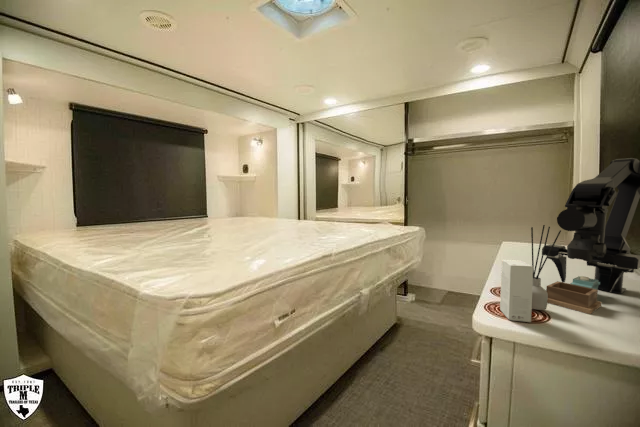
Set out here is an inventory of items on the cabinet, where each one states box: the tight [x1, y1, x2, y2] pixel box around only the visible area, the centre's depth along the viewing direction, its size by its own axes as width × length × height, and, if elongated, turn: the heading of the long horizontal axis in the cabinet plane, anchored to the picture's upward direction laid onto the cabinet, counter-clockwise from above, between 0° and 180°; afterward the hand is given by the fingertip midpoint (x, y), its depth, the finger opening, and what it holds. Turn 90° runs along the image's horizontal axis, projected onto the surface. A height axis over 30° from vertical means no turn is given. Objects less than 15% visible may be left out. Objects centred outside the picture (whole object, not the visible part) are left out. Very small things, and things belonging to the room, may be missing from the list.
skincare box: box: [499, 259, 533, 323], centre depth 61 cm, size 6×4×12 cm
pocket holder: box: [545, 280, 602, 315], centre depth 69 cm, size 9×9×4 cm
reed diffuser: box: [530, 224, 562, 311], centre depth 64 cm, size 10×7×20 cm
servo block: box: [569, 275, 600, 291], centre depth 75 cm, size 9×4×5 cm, turn 123°
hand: (585, 286), depth 75 cm, fingers open, 9 cm apart
